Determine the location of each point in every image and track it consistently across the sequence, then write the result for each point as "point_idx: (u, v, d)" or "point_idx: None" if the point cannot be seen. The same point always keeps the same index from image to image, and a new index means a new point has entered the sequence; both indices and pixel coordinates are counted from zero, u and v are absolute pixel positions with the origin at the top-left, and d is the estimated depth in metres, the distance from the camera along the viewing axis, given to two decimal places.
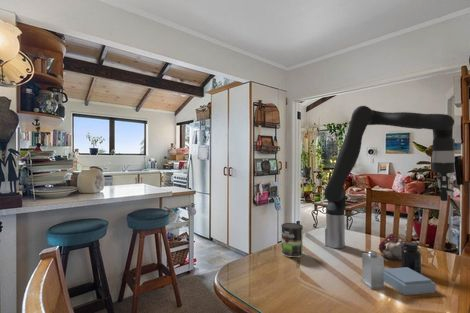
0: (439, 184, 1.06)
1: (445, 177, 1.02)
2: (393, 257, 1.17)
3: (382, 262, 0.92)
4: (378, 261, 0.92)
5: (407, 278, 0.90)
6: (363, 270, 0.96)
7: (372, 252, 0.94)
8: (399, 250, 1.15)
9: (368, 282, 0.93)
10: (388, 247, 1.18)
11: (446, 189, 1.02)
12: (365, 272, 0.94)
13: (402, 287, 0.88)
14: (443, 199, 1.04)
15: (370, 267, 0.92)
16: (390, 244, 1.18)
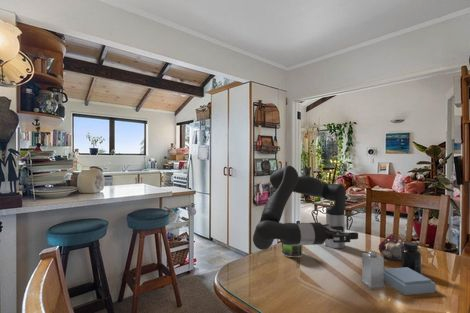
0: (327, 226, 0.95)
1: None
2: (393, 258, 1.16)
3: (382, 262, 0.92)
4: (378, 261, 0.92)
5: (407, 278, 0.90)
6: (363, 270, 0.96)
7: (372, 252, 0.94)
8: (399, 251, 1.14)
9: (368, 282, 0.93)
10: (388, 247, 1.17)
11: None
12: (365, 272, 0.94)
13: (402, 287, 0.88)
14: None
15: (370, 267, 0.92)
16: (390, 244, 1.17)
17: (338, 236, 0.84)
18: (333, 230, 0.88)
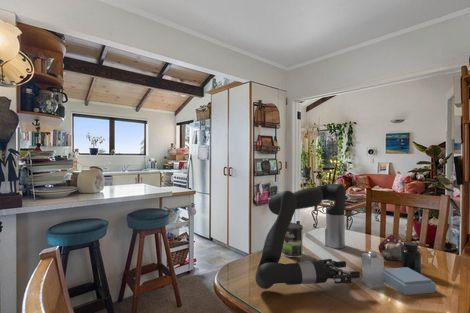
0: (330, 262, 0.96)
1: None
2: (392, 258, 1.16)
3: (382, 262, 0.92)
4: (378, 261, 0.92)
5: (407, 278, 0.90)
6: (363, 270, 0.96)
7: (372, 252, 0.94)
8: (398, 251, 1.14)
9: (368, 282, 0.93)
10: (387, 248, 1.17)
11: None
12: (365, 272, 0.94)
13: (402, 287, 0.88)
14: None
15: (370, 267, 0.92)
16: (389, 245, 1.17)
17: (339, 277, 0.85)
18: (334, 269, 0.89)
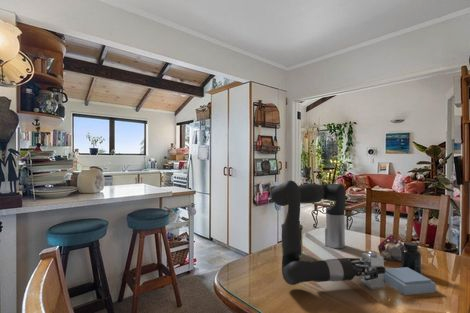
0: None
1: None
2: (392, 258, 1.15)
3: (382, 262, 0.92)
4: (378, 261, 0.92)
5: (407, 278, 0.90)
6: None
7: (372, 252, 0.94)
8: (398, 251, 1.13)
9: (368, 282, 0.93)
10: (387, 248, 1.17)
11: None
12: None
13: (402, 287, 0.88)
14: None
15: None
16: (389, 245, 1.16)
17: (369, 274, 0.87)
18: (361, 266, 0.91)
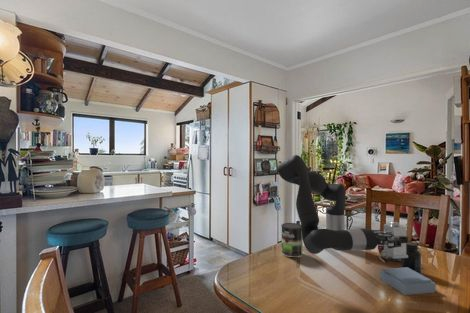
0: None
1: None
2: (392, 259, 1.15)
3: (405, 232, 0.91)
4: (400, 231, 0.91)
5: (407, 278, 0.90)
6: None
7: (394, 222, 0.93)
8: None
9: (390, 252, 0.92)
10: None
11: None
12: None
13: (402, 287, 0.88)
14: None
15: (392, 236, 0.91)
16: None
17: (392, 242, 0.87)
18: (384, 235, 0.91)
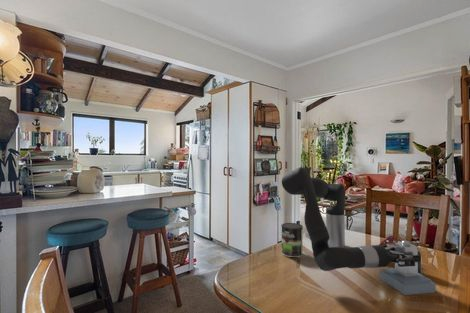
0: (387, 247, 0.97)
1: None
2: None
3: (416, 251, 0.91)
4: (412, 250, 0.91)
5: (407, 278, 0.90)
6: None
7: (405, 241, 0.93)
8: None
9: (402, 271, 0.92)
10: None
11: None
12: None
13: (402, 287, 0.88)
14: None
15: None
16: (388, 246, 1.16)
17: (403, 260, 0.86)
18: (395, 253, 0.90)
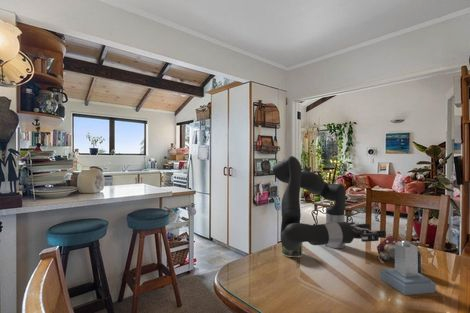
0: (354, 224, 0.96)
1: None
2: (391, 260, 1.14)
3: (416, 251, 0.91)
4: (412, 250, 0.91)
5: (407, 278, 0.90)
6: (396, 260, 0.95)
7: (405, 241, 0.93)
8: None
9: (402, 271, 0.92)
10: (386, 249, 1.15)
11: None
12: (398, 262, 0.94)
13: (402, 287, 0.88)
14: None
15: (404, 256, 0.91)
16: (388, 246, 1.15)
17: (366, 235, 0.85)
18: (360, 229, 0.89)
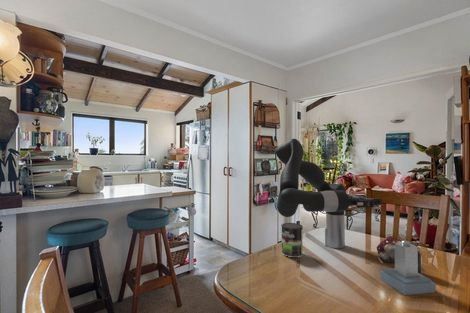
0: None
1: None
2: (390, 260, 1.14)
3: (416, 251, 0.91)
4: (412, 250, 0.91)
5: (407, 278, 0.90)
6: (396, 260, 0.95)
7: (405, 241, 0.93)
8: None
9: (402, 271, 0.92)
10: (385, 249, 1.15)
11: None
12: (398, 262, 0.94)
13: (402, 287, 0.88)
14: (362, 196, 0.98)
15: (404, 256, 0.91)
16: (388, 246, 1.15)
17: (362, 201, 0.85)
18: (356, 197, 0.90)
